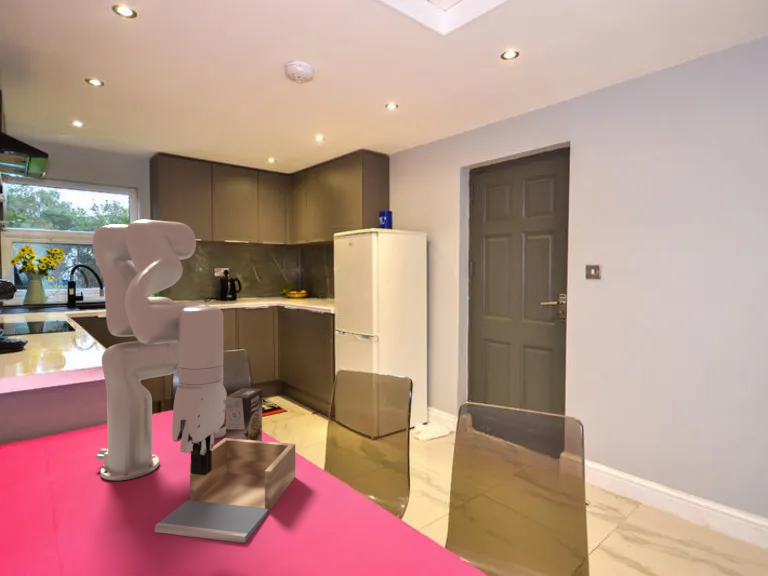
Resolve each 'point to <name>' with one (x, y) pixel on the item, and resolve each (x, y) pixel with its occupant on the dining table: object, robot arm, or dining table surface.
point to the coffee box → (244, 414)
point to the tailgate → (212, 521)
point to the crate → (246, 473)
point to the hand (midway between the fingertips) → (201, 472)
